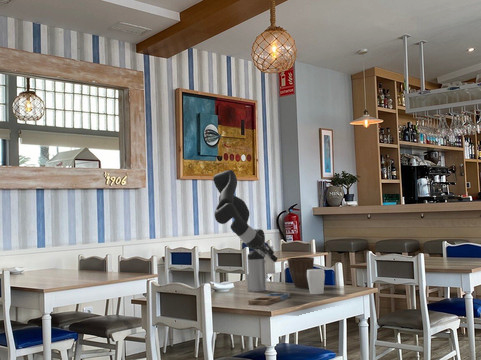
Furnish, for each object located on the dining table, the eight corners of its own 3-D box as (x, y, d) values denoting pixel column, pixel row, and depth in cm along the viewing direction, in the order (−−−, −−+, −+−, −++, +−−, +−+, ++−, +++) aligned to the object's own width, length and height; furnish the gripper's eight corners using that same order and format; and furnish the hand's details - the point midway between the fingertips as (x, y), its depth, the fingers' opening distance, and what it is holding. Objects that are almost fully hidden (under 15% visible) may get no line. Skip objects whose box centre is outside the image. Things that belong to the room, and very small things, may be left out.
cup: (322, 291, 305) (321, 268, 306) (328, 294, 296) (326, 269, 297) (305, 293, 304) (304, 269, 305) (310, 295, 295) (309, 271, 296)
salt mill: (264, 273, 280) (262, 247, 280) (268, 272, 284) (266, 246, 284) (272, 273, 278) (271, 246, 278) (276, 272, 281) (275, 246, 282)
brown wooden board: (248, 305, 269) (248, 300, 269) (273, 297, 292) (273, 292, 292) (266, 306, 265) (265, 301, 265) (290, 298, 288) (290, 293, 288)
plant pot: (318, 287, 323) (317, 258, 324) (291, 289, 321) (290, 259, 321) (311, 284, 337) (310, 256, 338) (286, 286, 335) (284, 258, 336)
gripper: (238, 242, 282) (261, 265, 287) (252, 243, 269) (276, 267, 274) (247, 230, 284) (270, 253, 289) (261, 230, 272) (285, 254, 277)
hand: (273, 260), depth 282 cm, fingers closed on salt mill, 4 cm apart
